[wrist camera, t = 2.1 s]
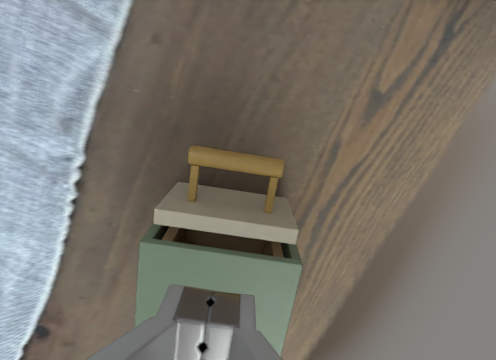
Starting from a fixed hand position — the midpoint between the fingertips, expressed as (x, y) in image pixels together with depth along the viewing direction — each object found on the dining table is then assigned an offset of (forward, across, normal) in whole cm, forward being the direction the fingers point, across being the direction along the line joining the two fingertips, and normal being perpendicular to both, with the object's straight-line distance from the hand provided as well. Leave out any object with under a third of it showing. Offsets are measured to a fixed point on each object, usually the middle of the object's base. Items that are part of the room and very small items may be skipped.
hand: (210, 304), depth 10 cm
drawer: (+16, 0, +5) cm, 17 cm away
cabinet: (+17, 0, +9) cm, 20 cm away
